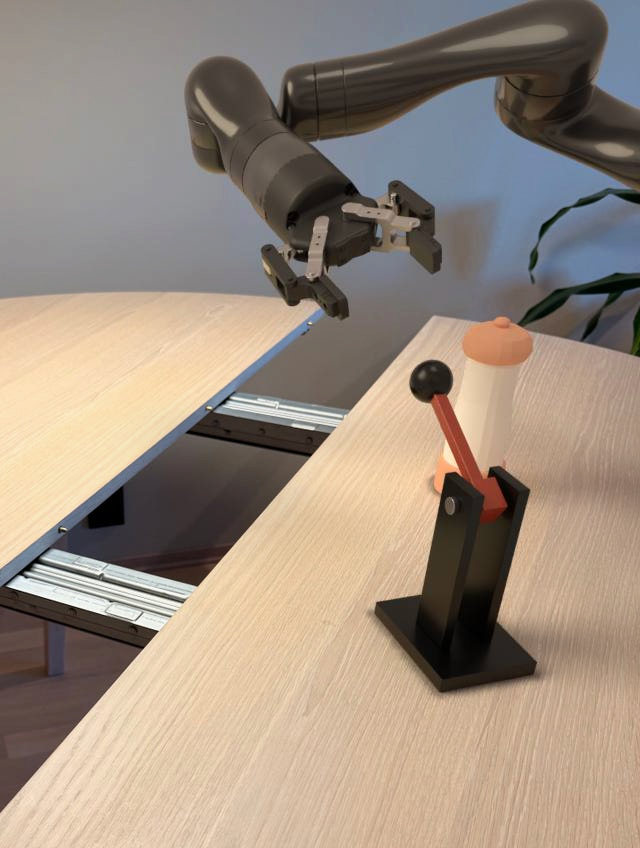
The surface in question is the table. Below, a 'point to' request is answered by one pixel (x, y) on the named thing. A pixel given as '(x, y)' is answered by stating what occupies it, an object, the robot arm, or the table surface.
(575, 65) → the robot arm
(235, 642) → the table surface
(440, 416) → the lever
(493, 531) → the bracket
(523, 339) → the salt shaker
